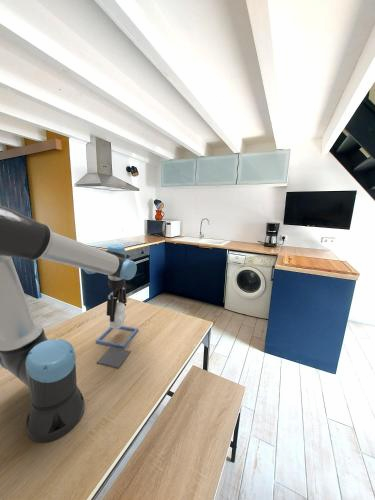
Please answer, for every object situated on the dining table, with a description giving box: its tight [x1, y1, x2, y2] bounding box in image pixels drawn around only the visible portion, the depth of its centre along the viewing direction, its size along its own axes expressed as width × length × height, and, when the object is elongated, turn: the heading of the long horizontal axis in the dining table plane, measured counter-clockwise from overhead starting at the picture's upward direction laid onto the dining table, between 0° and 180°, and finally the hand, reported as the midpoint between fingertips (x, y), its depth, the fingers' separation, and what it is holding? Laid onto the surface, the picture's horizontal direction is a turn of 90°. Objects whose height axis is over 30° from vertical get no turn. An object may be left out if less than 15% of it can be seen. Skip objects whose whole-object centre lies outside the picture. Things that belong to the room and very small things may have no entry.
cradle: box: [95, 325, 139, 350], centre depth 103 cm, size 14×14×2 cm
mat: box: [96, 346, 131, 369], centre depth 90 cm, size 10×10×1 cm
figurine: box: [108, 301, 127, 330], centre depth 101 cm, size 7×8×12 cm
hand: (117, 322), depth 102 cm, fingers closed on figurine, 7 cm apart
